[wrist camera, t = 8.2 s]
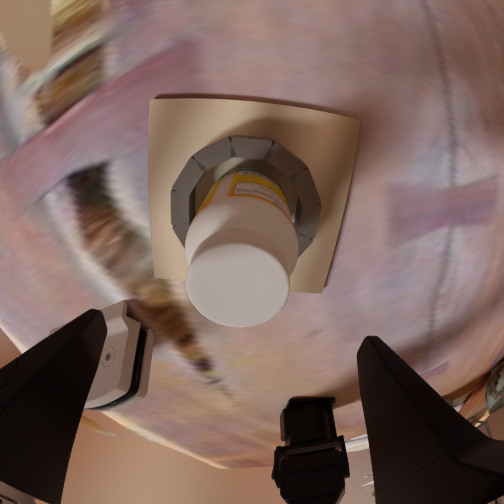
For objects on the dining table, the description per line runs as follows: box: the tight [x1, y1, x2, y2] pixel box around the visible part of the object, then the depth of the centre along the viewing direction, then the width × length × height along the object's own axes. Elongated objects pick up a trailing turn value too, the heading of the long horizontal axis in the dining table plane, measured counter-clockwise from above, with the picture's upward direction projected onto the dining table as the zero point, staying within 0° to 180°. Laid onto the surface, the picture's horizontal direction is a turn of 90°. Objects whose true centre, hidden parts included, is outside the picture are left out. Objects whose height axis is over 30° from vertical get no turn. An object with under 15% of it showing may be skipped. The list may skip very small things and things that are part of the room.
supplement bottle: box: [185, 168, 298, 327], centre depth 14 cm, size 5×5×10 cm
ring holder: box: [148, 98, 361, 293], centre depth 18 cm, size 14×14×2 cm
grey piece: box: [50, 301, 155, 412], centre depth 24 cm, size 17×5×10 cm, turn 115°
